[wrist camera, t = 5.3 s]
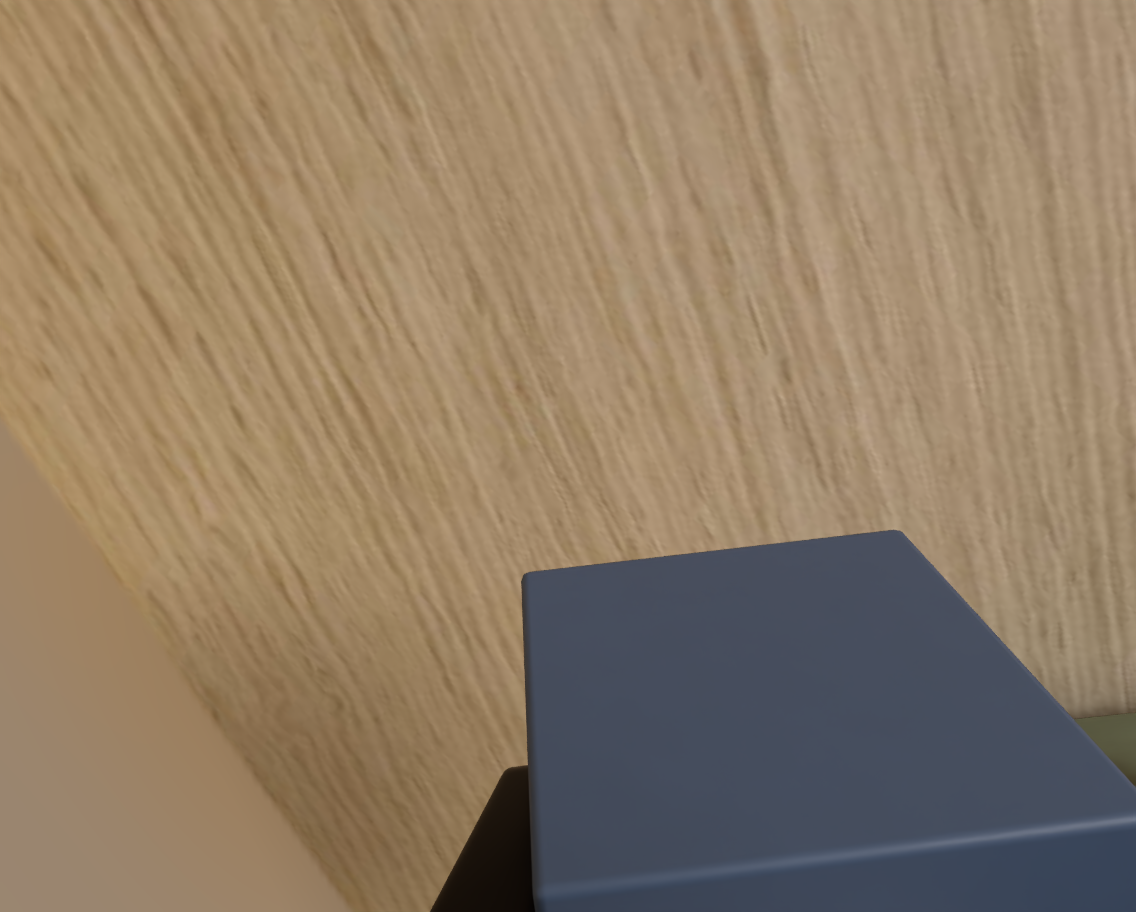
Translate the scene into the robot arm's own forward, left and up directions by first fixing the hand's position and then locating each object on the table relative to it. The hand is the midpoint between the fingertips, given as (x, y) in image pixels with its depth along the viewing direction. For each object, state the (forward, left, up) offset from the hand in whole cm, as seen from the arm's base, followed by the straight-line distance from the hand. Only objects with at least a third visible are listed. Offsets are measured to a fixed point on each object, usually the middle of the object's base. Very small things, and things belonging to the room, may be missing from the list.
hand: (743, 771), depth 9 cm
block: (0, 0, -1) cm, 1 cm away
